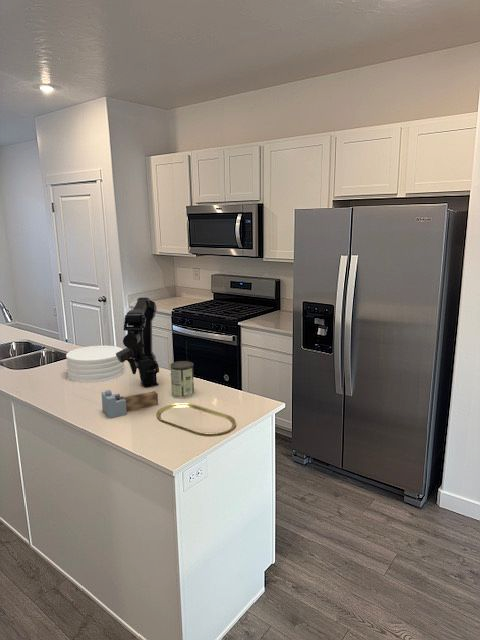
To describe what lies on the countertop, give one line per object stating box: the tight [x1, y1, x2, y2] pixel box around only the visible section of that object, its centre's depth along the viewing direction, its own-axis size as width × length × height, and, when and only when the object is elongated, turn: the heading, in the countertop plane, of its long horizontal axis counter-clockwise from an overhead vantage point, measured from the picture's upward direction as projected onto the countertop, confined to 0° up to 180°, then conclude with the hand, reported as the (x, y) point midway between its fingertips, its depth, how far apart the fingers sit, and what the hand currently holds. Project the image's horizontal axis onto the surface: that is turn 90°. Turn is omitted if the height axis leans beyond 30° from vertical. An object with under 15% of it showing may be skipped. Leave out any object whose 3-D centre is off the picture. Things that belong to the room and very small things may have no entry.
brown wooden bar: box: [118, 390, 159, 413], centre depth 185 cm, size 16×4×6 cm, turn 123°
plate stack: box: [66, 345, 126, 383], centre depth 228 cm, size 28×28×12 cm
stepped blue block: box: [100, 389, 127, 419], centre depth 179 cm, size 7×9×10 cm
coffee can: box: [169, 360, 195, 399], centre depth 199 cm, size 10×10×14 cm
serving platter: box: [156, 402, 237, 436], centre depth 173 cm, size 19×35×2 cm, turn 54°
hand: (138, 377), depth 188 cm, fingers open, 9 cm apart
